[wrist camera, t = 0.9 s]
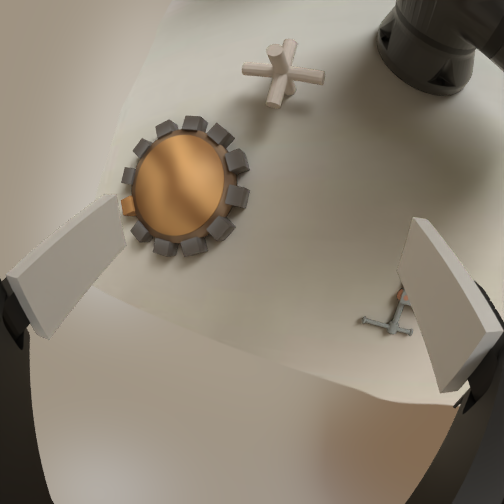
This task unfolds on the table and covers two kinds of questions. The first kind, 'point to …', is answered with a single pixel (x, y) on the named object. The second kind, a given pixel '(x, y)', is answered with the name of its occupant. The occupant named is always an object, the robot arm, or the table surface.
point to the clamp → (393, 325)
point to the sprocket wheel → (185, 186)
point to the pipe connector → (282, 72)
